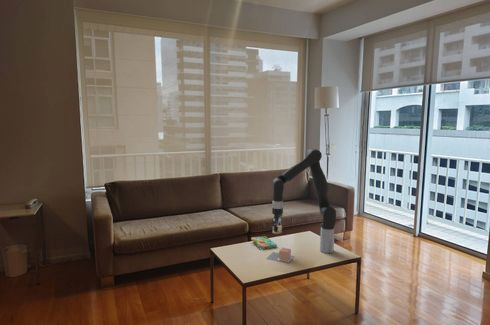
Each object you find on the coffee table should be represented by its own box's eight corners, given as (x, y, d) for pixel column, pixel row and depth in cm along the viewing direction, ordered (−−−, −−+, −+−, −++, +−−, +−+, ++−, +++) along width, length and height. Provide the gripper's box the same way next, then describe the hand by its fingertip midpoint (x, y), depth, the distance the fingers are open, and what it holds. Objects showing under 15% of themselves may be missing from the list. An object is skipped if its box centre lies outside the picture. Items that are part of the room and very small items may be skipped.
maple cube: (281, 231, 230) (281, 225, 230) (279, 234, 226) (279, 227, 225) (275, 230, 233) (275, 224, 232) (272, 233, 228) (272, 226, 228)
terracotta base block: (290, 257, 218) (290, 249, 217) (287, 261, 213) (287, 252, 212) (282, 256, 221) (282, 247, 220) (279, 259, 215) (279, 250, 214)
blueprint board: (295, 258, 220) (295, 256, 220) (288, 265, 209) (288, 263, 209) (273, 254, 227) (273, 251, 227) (265, 261, 216) (265, 258, 216)
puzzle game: (262, 245, 231) (251, 236, 250) (262, 252, 232) (251, 242, 250) (276, 243, 236) (264, 234, 254) (276, 249, 236) (264, 240, 254)
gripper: (279, 210, 219) (278, 234, 221) (286, 205, 232) (285, 228, 234) (268, 208, 222) (268, 232, 224) (276, 204, 235) (275, 226, 237)
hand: (277, 230), depth 229 cm, fingers closed on maple cube, 5 cm apart
